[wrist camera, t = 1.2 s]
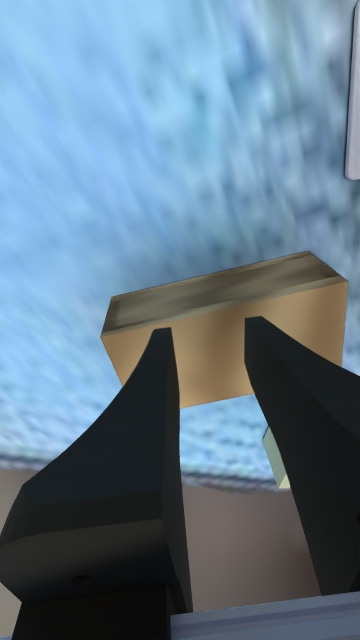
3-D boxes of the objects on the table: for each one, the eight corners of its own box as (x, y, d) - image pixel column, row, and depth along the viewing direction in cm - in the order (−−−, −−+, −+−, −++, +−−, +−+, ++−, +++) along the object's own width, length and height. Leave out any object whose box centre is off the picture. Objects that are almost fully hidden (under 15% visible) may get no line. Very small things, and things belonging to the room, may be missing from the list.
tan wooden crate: (309, 250, 20) (348, 281, 16) (308, 333, 24) (340, 375, 20) (111, 297, 21) (100, 337, 17) (140, 369, 25) (136, 417, 21)
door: (304, 335, 24) (335, 378, 20) (329, 336, 24) (365, 379, 20) (261, 440, 31) (277, 489, 27) (280, 440, 31) (300, 489, 27)
